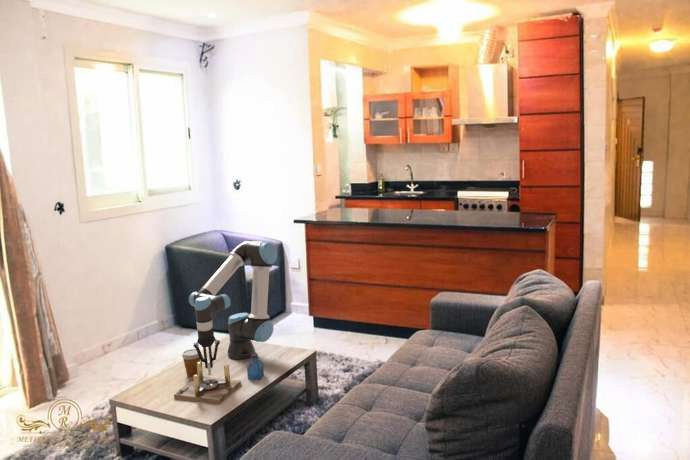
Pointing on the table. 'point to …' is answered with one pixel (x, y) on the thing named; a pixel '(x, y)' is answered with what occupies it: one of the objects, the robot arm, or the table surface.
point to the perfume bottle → (255, 368)
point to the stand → (207, 392)
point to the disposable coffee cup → (191, 362)
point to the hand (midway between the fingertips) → (209, 373)
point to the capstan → (210, 383)
